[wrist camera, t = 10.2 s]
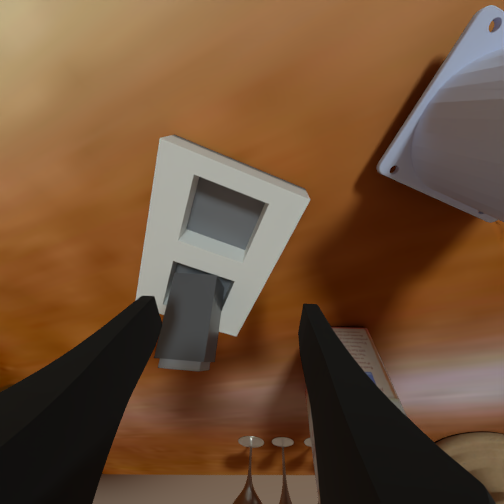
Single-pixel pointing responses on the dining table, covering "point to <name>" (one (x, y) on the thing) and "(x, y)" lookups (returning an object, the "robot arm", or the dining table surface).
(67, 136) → the dining table surface
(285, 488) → the goblet set
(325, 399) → the robot arm
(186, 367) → the plug
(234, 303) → the socket plate
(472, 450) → the candle holder
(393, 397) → the cracker box
